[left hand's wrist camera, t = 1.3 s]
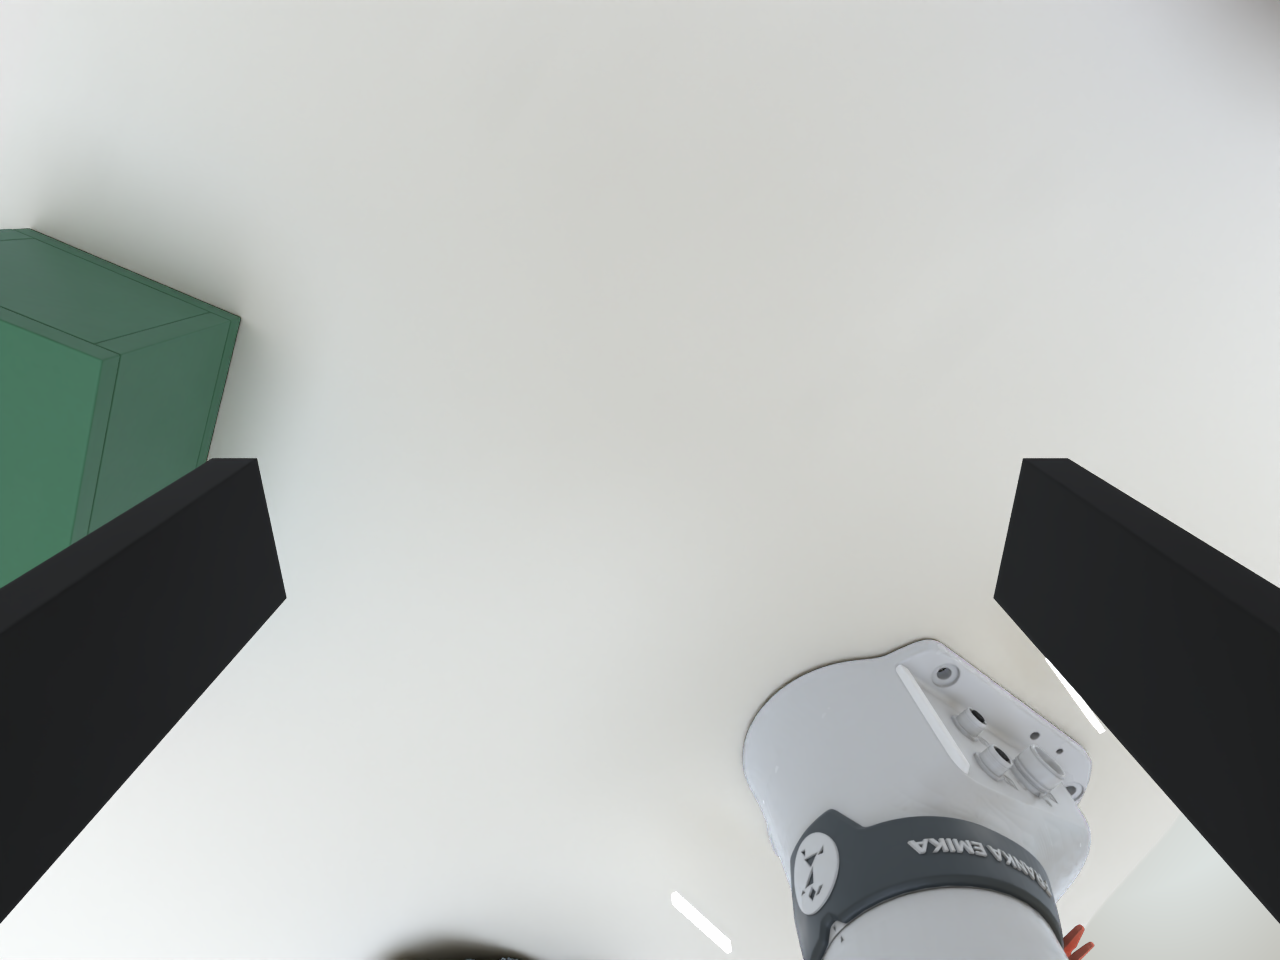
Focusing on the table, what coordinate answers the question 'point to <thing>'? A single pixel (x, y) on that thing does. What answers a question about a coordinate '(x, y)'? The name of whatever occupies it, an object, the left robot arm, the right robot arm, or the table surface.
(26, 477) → the cabinet
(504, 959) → the koala plush
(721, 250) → the table surface
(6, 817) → the left robot arm
